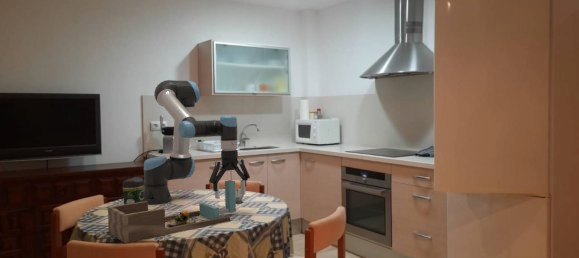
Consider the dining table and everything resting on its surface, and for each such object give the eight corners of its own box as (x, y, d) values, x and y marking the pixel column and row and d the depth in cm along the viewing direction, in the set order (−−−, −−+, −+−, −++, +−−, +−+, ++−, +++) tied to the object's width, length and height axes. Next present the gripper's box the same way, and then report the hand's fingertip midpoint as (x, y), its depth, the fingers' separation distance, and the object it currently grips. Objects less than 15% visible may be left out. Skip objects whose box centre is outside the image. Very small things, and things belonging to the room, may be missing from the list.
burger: (167, 222, 178) (166, 205, 178) (195, 220, 181) (194, 203, 181) (166, 230, 167) (166, 211, 166) (196, 227, 170) (196, 209, 169)
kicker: (199, 215, 187) (198, 182, 186) (225, 210, 195) (224, 178, 195) (215, 221, 176) (214, 186, 176) (241, 215, 185) (241, 182, 184)
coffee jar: (130, 216, 188) (129, 176, 188) (147, 216, 188) (146, 176, 187) (120, 222, 179) (119, 179, 178) (138, 222, 178) (137, 179, 177)
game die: (239, 210, 213) (241, 197, 207) (224, 204, 215) (226, 191, 209) (246, 199, 220) (248, 186, 214) (232, 193, 222) (234, 180, 216)
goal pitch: (108, 231, 164) (107, 206, 164) (208, 213, 193) (208, 191, 192) (124, 243, 150) (123, 215, 149) (230, 221, 178) (229, 198, 178)
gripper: (208, 152, 177) (210, 201, 178) (256, 148, 193) (257, 193, 194) (200, 151, 183) (201, 198, 184) (247, 147, 199) (248, 191, 199)
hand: (230, 196), depth 189 cm, fingers open, 13 cm apart
